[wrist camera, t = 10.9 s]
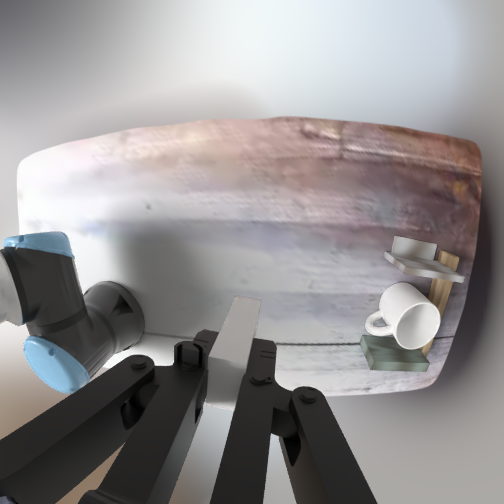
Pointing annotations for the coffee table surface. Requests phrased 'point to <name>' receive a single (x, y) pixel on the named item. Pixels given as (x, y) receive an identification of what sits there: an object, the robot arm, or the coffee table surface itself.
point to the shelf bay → (443, 273)
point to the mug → (406, 316)
